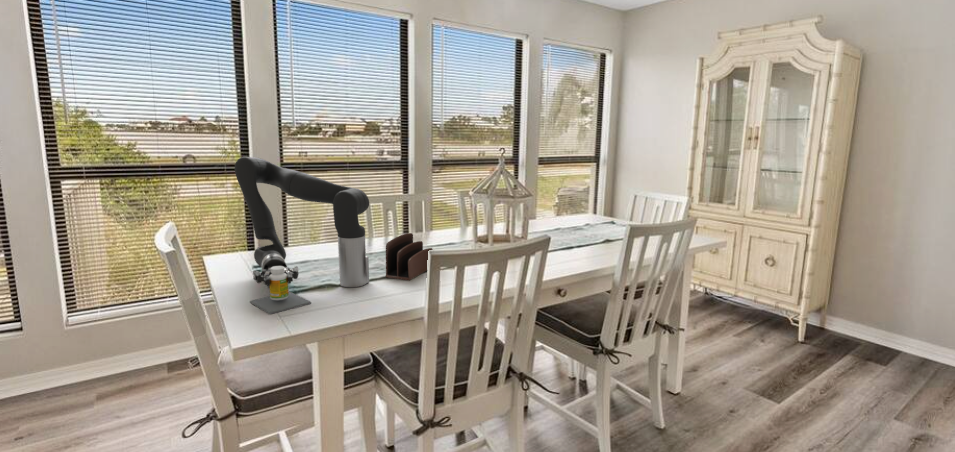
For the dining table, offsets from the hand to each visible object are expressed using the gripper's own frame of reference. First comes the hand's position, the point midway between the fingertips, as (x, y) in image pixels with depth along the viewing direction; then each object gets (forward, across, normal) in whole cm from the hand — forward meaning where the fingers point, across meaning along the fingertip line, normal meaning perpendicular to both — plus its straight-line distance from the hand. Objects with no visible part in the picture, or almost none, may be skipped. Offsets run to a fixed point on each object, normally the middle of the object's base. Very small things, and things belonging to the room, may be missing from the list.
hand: (279, 281), depth 153 cm
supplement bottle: (-3, 0, +6) cm, 7 cm away
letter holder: (-18, +48, +8) cm, 52 cm away
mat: (-2, 0, +8) cm, 8 cm away
